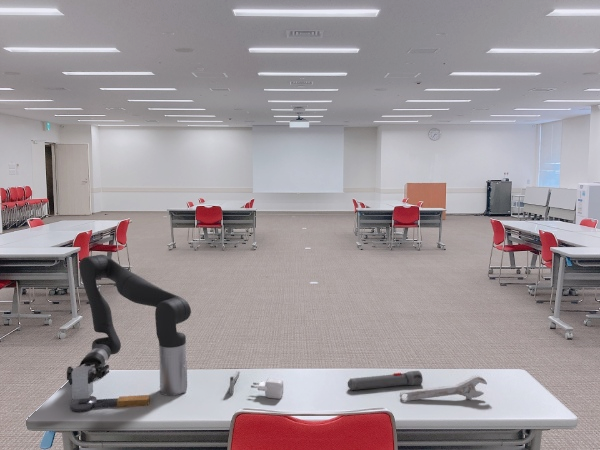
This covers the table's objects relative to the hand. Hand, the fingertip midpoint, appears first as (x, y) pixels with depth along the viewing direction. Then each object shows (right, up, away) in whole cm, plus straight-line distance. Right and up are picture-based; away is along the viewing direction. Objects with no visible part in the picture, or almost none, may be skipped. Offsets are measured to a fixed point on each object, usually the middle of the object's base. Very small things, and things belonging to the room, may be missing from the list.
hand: (80, 381), depth 156 cm
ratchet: (+8, -9, +4) cm, 13 cm away
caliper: (+47, -9, +22) cm, 53 cm away
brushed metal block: (0, -6, +3) cm, 7 cm away
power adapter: (+60, -9, +12) cm, 62 cm away
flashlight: (+103, -9, +20) cm, 105 cm away
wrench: (+121, -10, +9) cm, 122 cm away
